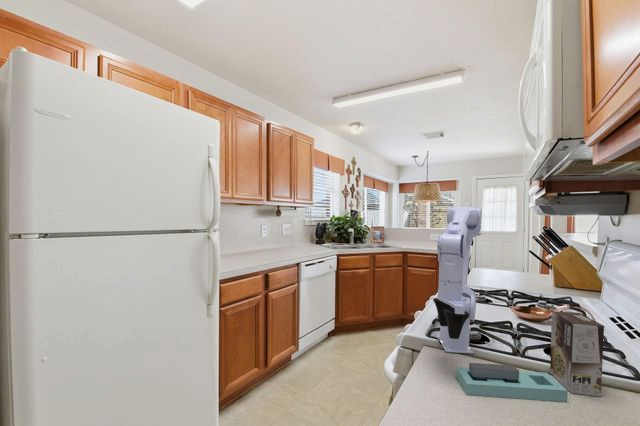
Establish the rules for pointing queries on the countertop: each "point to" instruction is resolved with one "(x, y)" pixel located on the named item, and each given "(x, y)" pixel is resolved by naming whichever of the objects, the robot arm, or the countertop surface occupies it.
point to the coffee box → (577, 352)
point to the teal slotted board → (514, 386)
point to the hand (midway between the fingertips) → (449, 331)
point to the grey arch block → (494, 372)
